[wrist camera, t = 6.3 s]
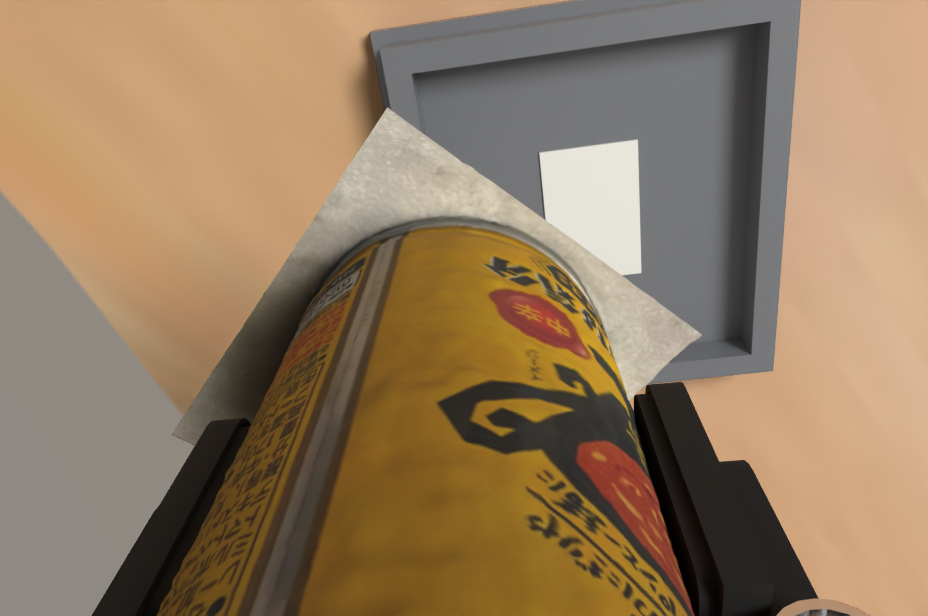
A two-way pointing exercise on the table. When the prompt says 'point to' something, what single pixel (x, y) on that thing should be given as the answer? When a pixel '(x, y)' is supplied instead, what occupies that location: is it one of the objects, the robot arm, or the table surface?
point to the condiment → (435, 415)
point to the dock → (629, 143)
